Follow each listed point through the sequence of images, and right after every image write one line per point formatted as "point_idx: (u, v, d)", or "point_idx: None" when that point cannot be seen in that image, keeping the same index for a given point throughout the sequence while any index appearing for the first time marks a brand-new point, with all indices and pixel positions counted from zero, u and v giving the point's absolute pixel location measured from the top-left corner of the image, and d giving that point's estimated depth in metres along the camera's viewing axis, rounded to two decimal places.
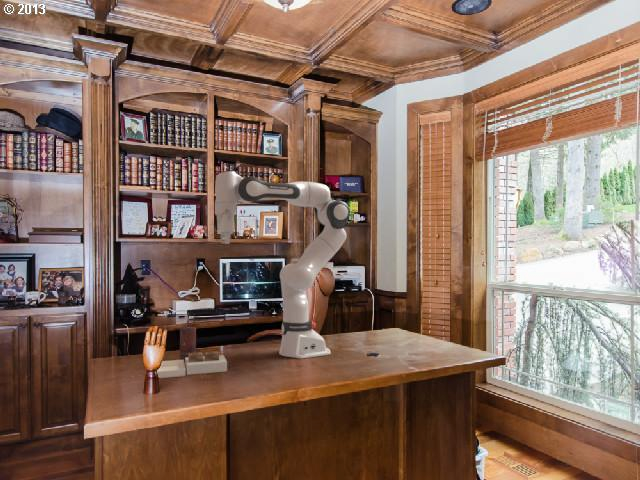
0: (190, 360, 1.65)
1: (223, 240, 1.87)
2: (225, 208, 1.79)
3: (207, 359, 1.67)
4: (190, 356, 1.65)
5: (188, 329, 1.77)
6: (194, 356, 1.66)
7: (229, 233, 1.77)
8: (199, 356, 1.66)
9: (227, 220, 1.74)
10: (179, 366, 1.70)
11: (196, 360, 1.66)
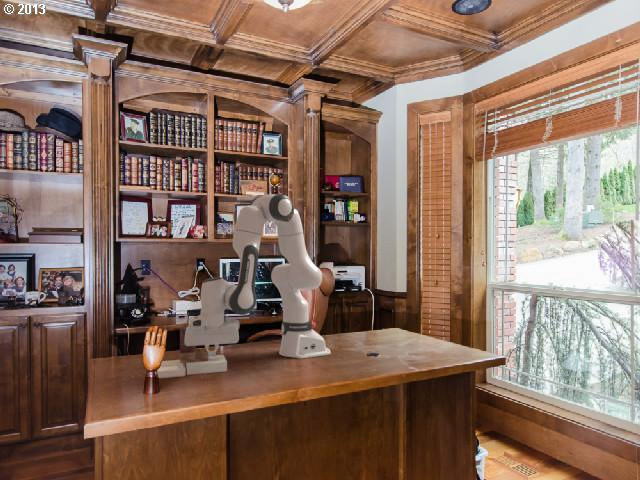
0: (181, 361, 1.64)
1: None
2: (223, 318, 1.70)
3: (196, 360, 1.66)
4: (181, 357, 1.64)
5: None
6: (185, 357, 1.64)
7: None
8: (190, 357, 1.65)
9: (237, 330, 1.72)
10: (179, 366, 1.70)
11: (187, 361, 1.65)
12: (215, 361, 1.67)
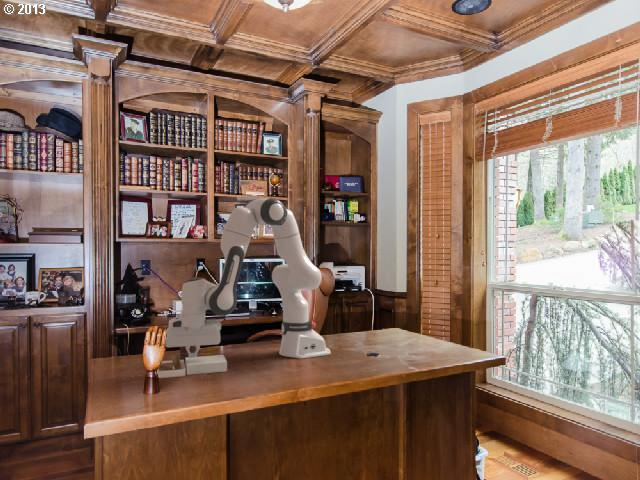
0: (171, 367, 1.63)
1: None
2: None
3: (180, 368, 1.64)
4: None
5: None
6: None
7: None
8: None
9: None
10: None
11: (165, 367, 1.62)
12: (215, 361, 1.67)
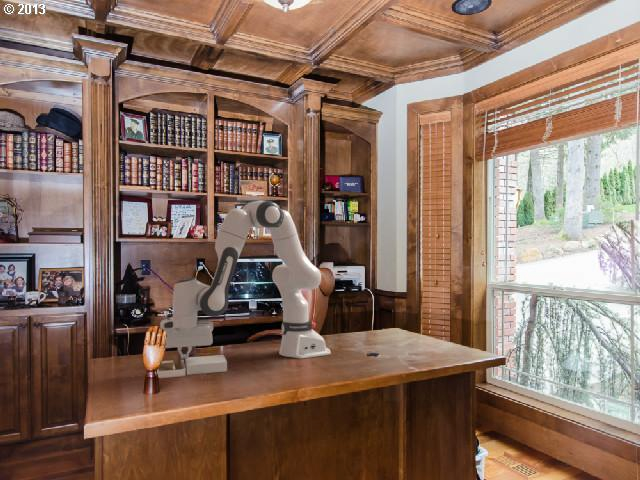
0: (171, 367, 1.63)
1: None
2: None
3: (181, 368, 1.64)
4: None
5: None
6: None
7: None
8: None
9: (211, 332, 1.69)
10: None
11: (165, 367, 1.62)
12: (215, 361, 1.67)
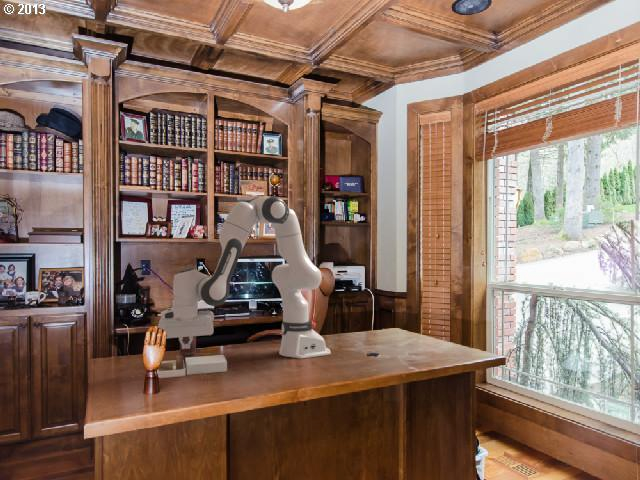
0: (171, 367, 1.63)
1: None
2: (197, 310, 1.67)
3: None
4: None
5: None
6: None
7: None
8: None
9: None
10: None
11: (165, 367, 1.62)
12: (215, 361, 1.67)
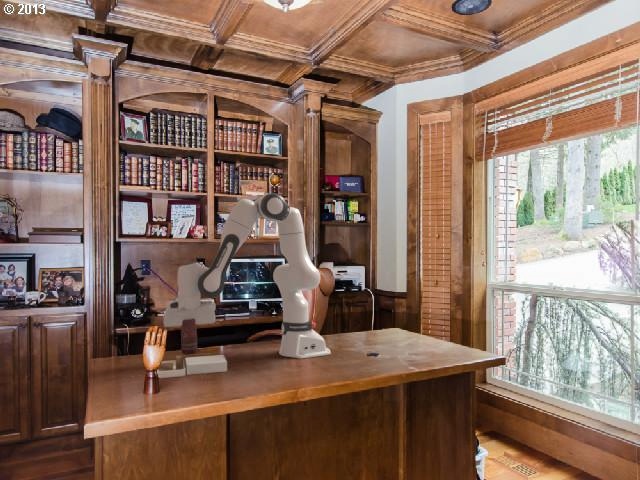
0: (171, 367, 1.63)
1: None
2: (200, 300, 1.80)
3: None
4: None
5: (189, 321, 1.77)
6: None
7: None
8: None
9: None
10: None
11: (165, 367, 1.62)
12: (215, 361, 1.67)
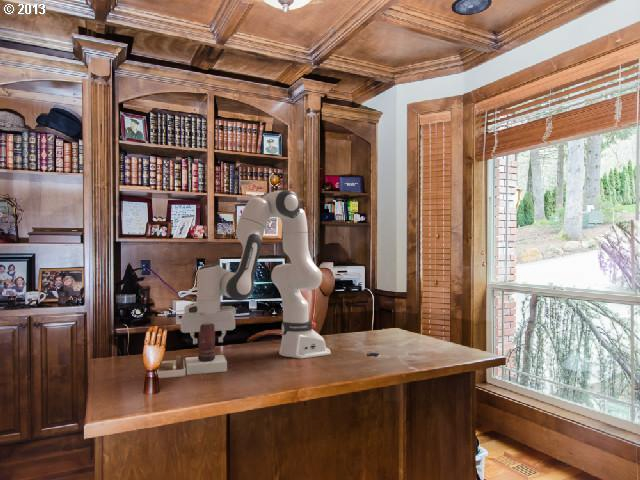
0: (171, 367, 1.63)
1: None
2: None
3: None
4: None
5: (207, 325, 1.66)
6: None
7: None
8: None
9: None
10: None
11: (165, 367, 1.62)
12: (215, 361, 1.67)
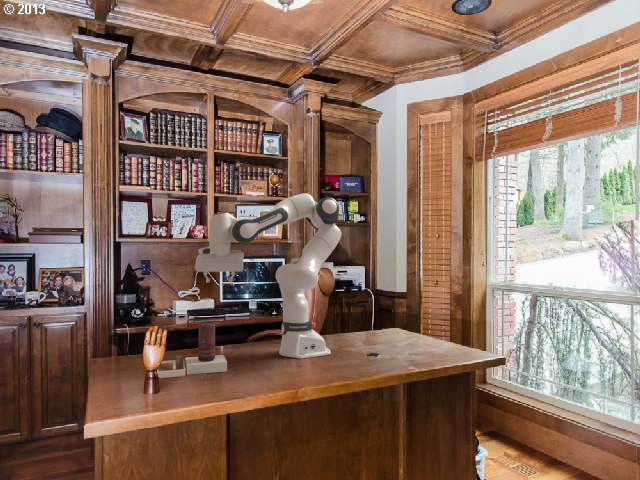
0: (171, 367, 1.63)
1: (209, 279, 1.89)
2: None
3: None
4: None
5: (207, 325, 1.66)
6: None
7: None
8: None
9: (242, 260, 1.93)
10: None
11: (165, 367, 1.62)
12: (215, 361, 1.67)
